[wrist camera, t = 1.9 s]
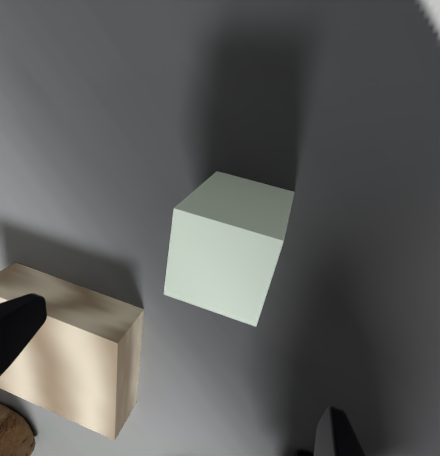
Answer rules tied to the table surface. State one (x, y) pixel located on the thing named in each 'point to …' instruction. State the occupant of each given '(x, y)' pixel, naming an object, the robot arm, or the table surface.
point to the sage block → (227, 245)
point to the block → (14, 434)
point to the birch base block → (76, 352)
